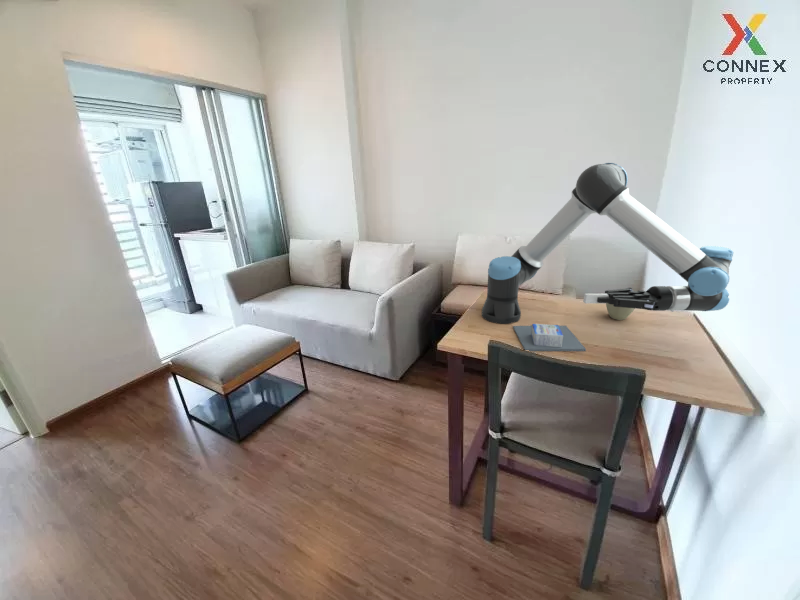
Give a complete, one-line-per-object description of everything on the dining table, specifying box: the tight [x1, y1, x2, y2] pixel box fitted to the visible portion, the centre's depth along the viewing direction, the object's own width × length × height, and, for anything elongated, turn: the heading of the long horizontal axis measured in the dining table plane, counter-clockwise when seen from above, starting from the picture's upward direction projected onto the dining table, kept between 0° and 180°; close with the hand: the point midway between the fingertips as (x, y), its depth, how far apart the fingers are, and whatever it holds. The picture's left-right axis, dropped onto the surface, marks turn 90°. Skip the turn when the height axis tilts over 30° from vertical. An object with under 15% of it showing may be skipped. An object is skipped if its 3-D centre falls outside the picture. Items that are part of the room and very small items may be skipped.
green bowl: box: [605, 303, 636, 321], centre depth 126 cm, size 10×10×7 cm
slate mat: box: [512, 325, 587, 352], centre depth 115 cm, size 19×17×1 cm
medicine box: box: [531, 323, 563, 347], centre depth 111 cm, size 8×4×9 cm
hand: (585, 298), depth 103 cm, fingers closed
